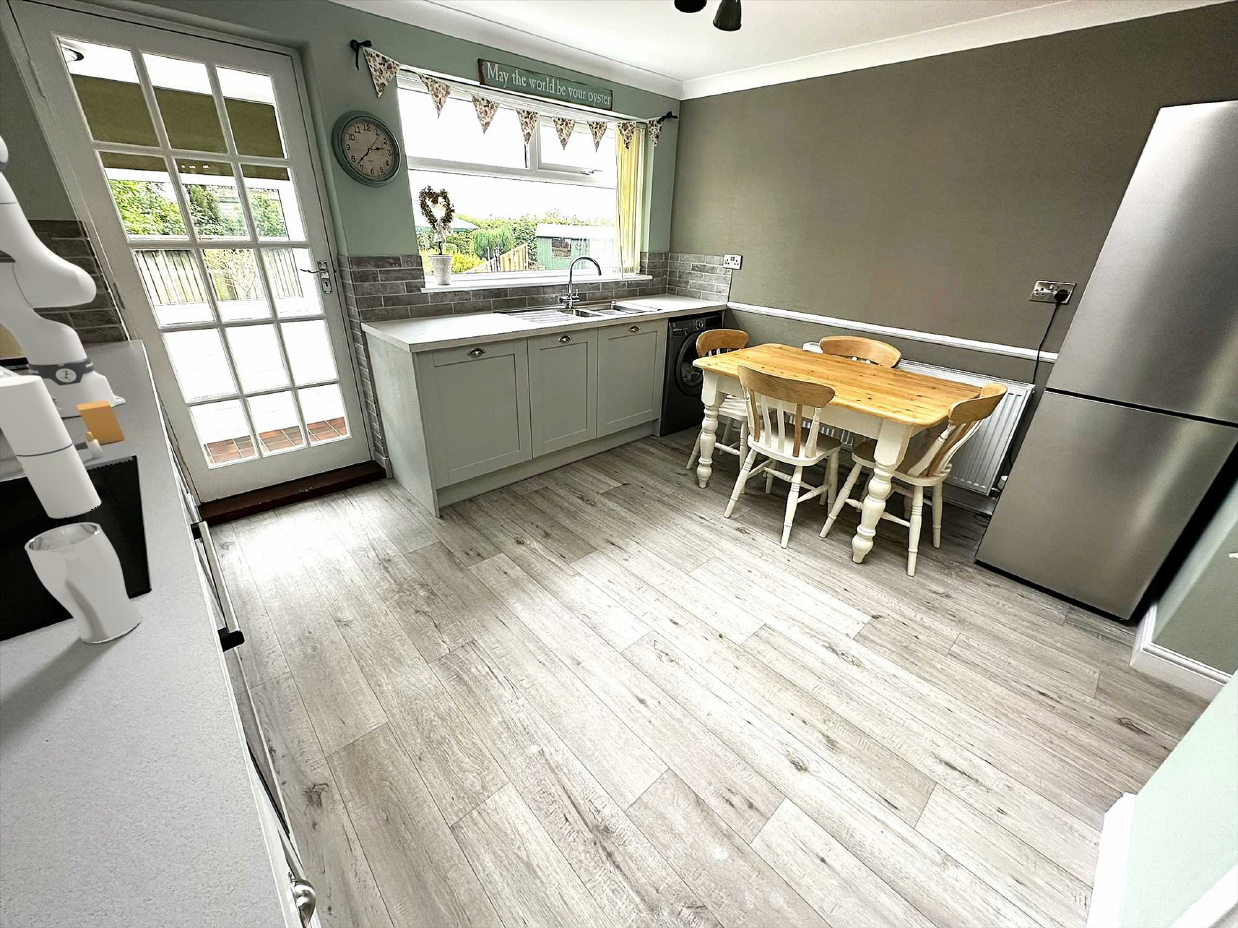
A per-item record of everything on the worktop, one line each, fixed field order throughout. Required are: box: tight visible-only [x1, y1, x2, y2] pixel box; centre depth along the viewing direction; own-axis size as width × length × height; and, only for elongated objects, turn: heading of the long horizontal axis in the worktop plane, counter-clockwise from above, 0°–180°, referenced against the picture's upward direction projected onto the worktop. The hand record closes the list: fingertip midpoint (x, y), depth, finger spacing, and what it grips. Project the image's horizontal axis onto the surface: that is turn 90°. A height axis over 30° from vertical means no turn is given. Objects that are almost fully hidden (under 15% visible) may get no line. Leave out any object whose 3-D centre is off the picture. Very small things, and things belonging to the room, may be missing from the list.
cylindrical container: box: [0, 374, 102, 519], centre depth 89 cm, size 7×7×25 cm
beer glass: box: [24, 522, 143, 644], centre depth 64 cm, size 7×7×15 cm
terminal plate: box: [76, 440, 134, 471], centre depth 113 cm, size 12×10×1 cm
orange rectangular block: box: [77, 400, 125, 446], centre depth 121 cm, size 5×5×9 cm
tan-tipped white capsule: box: [83, 431, 104, 459], centre depth 111 cm, size 2×2×6 cm
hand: (58, 408), depth 115 cm, fingers open, 8 cm apart
